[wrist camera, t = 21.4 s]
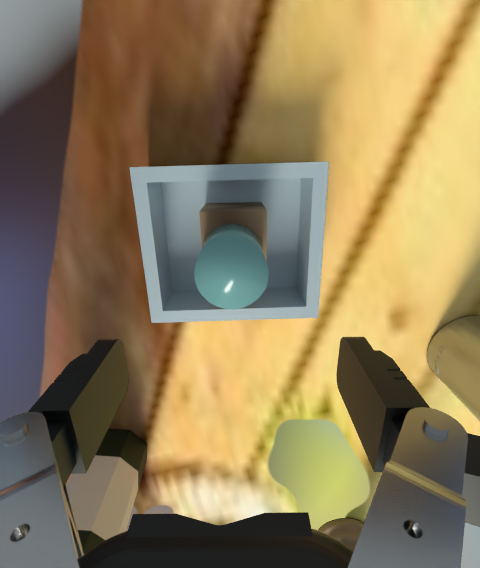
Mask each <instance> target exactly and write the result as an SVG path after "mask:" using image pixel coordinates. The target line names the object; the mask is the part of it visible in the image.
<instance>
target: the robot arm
mask: <svg viewBox="0 0 480 568" xmlns="http://www.w3.org/2000/svg"><path fill="white" fill-rule="evenodd" d="M427 361H428V364H429V367H430V369H431V370H432V371H433V372H434V373H435V374H436V375H437V376H438V377H439V378H440V380H441V381H442V382H443V383H444V384H445V385H446V386H447V387H448V388H449V389H450V390H451V391H452V392H453V394H454V395H455V396H456V397H457V398H458V399H459V400H460V401H461V402H462V403H463V404H464V405H465V406H466V407H467V408H468V409H469V410H470V411H471V412H472V414H473V415H474V416H475V417H476V418H477V419H478V420H479V421H480V316H467V317H462V318H459V319H457V320H454V321H452V322H450V323H449V324H447V325H445V326H444V327H443V328H442V329H441V330H439V331H438V333H437V334H436V335H435V336H434V337H433V339H432V341H431V342H430V344H429V347H428V350H427ZM128 383H129V375H128V369H127V363H126V357H125V352H124V346H123V343H122V341H121V340H98V341H97V342H96V343H95V345H94V346H93V347H92V348H91V350H90V351H89V352H88V353H87V354H82V355H80V356H79V357H77V358H76V359H74V360H73V361H71V362H70V363H69V364H68V365H67V366H66V368H65V369H64V370H63V371H62V372H61V374H60V375H59V376H58V377H57V378H56V379H55V381H54V383H52V384H51V385H50V386H49V388H48V389H47V390H46V391H45V392H44V394H43V395H42V396H41V397H40V398H39V399H38V401H37V402H36V403H35V404H34V405H33V407H32V408H31V409H30V410H29V411H28V412H24V413H20V414H17V415H14V416H11V417H9V418H7V419H5V420H3V421H2V422H0V568H461V557H462V547H463V536H464V525H465V523H469V524H472V525H475V526H478V527H480V436H477V435H472V434H469V433H467V432H466V431H465V429H464V428H463V426H462V425H461V424H460V423H459V422H458V421H456V420H455V419H454V418H452V417H451V416H449V415H447V414H446V413H443V412H441V411H439V410H436V409H432V408H430V407H429V406H428V404H427V403H426V402H425V400H424V399H423V398H422V397H421V395H420V394H419V393H418V391H417V390H416V389H415V387H414V386H413V385H412V384H411V382H410V381H409V380H407V377H406V376H405V375H404V373H403V372H402V371H400V368H399V367H398V365H397V364H396V363H395V362H394V360H393V359H392V358H390V357H389V356H387V355H386V354H384V353H383V352H382V351H374V350H373V348H372V347H371V346H370V344H369V343H368V341H367V340H366V339H365V338H364V337H342V339H341V341H340V349H339V357H338V366H337V385H338V389H339V392H340V394H341V396H342V399H343V401H344V403H345V406H346V408H347V410H348V413H349V415H350V417H351V419H352V422H353V424H354V426H355V429H356V431H357V433H358V436H359V438H360V440H361V443H362V445H363V447H364V450H365V452H366V454H367V457H368V459H369V461H370V464H371V466H372V468H373V471H374V472H383V473H382V476H381V479H380V481H379V484H378V487H377V489H376V492H375V495H374V498H373V500H372V503H371V506H370V508H369V511H368V514H367V517H366V519H365V522H364V525H363V528H362V530H361V533H360V536H359V538H358V541H357V544H356V547H355V549H354V552H353V551H352V550H351V549H350V548H348V547H347V546H346V545H344V544H343V543H341V542H340V541H338V540H336V539H335V538H333V537H331V536H329V535H327V534H325V533H322V532H320V531H317V530H314V529H311V525H310V520H309V515H308V513H263V514H260V515H256V516H253V517H250V518H246V519H243V520H239V521H236V522H233V523H229V524H226V525H221V526H218V525H213V524H210V523H206V522H203V521H199V520H196V519H192V518H189V517H185V516H182V515H178V514H133V516H132V519H131V523H130V526H129V529H128V531H126V532H123V533H120V534H118V535H115V536H113V537H111V538H109V539H107V540H105V541H103V542H102V543H100V544H98V545H97V546H95V547H94V548H92V549H91V550H90V551H88V552H87V553H86V554H84V553H83V549H82V545H81V542H80V538H79V534H78V530H77V526H76V522H75V518H74V514H73V510H72V506H71V502H70V498H69V495H68V491H67V487H66V482H67V480H68V478H69V476H70V474H86V473H87V471H88V469H89V467H90V465H91V463H92V461H93V459H94V457H95V455H96V453H97V451H98V449H99V447H100V444H101V442H102V440H103V438H104V436H105V434H106V432H107V430H108V428H109V426H110V424H111V422H112V420H113V418H114V416H115V414H116V412H117V410H118V408H119V406H120V404H121V402H122V400H123V398H124V396H125V394H126V392H127V388H128Z"/></svg>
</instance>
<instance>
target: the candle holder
mask: <svg viewBox="0 0 480 568" xmlns="http://www.w3.org/2000/svg"><path fill="white" fill-rule="evenodd" d="M363 525H364V524H363V523H362V522H360V521H358V520H355V519H350V518H340V519H335V520H332V521H329V522H327V523H326V524H324V525H323V526H322V527H320V528H319V529H318V531H320V532H322V533H325V534H327V535H329V536H331V537H333V538H335V539H336V540H338V541H340V542H341V543H343V544H344V545H346V546H347V547H348V548H350V549H351V550H352V551H353V552H354V549H355V547H356V544H357V541H358V538H359V536H360V533H361V530H362V528H363Z"/></svg>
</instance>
